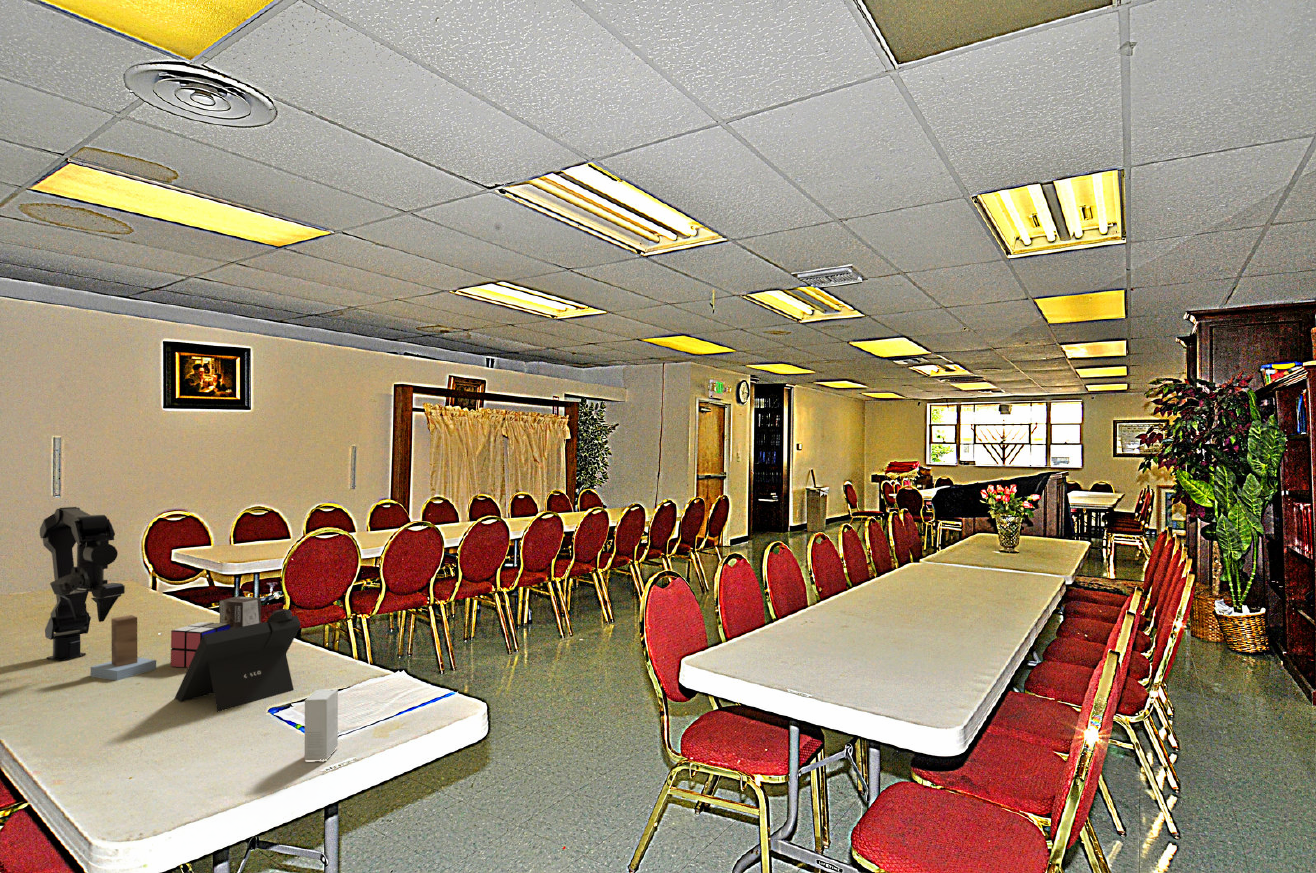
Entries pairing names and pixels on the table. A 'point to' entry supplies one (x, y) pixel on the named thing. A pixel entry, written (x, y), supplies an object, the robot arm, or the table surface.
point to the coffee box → (240, 611)
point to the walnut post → (124, 640)
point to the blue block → (122, 669)
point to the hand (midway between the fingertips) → (89, 620)
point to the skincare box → (321, 724)
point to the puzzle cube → (190, 641)
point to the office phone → (242, 663)
